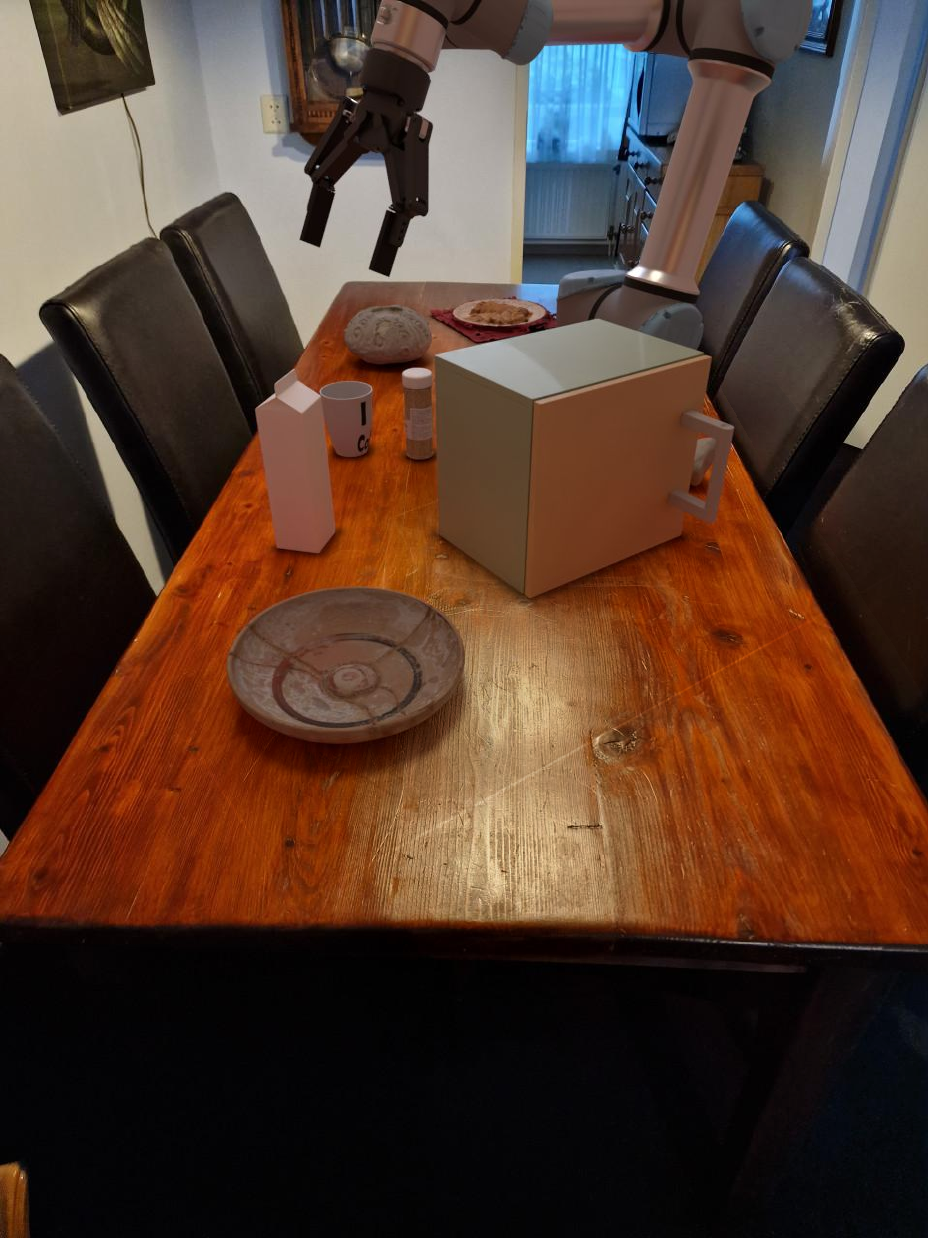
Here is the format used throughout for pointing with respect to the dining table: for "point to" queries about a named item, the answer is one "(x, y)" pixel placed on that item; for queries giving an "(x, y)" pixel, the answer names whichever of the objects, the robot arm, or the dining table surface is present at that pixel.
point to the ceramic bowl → (346, 664)
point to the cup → (348, 416)
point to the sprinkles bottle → (418, 413)
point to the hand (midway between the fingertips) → (342, 258)
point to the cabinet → (517, 425)
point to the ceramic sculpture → (702, 459)
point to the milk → (296, 466)
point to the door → (618, 470)
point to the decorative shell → (388, 334)
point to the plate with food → (496, 318)
